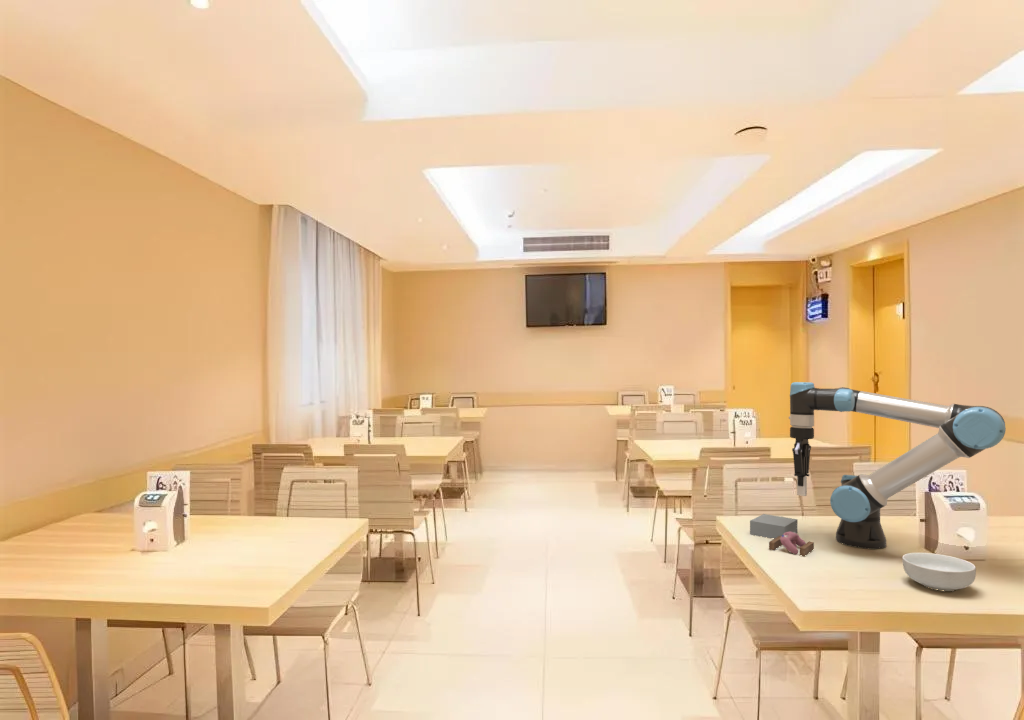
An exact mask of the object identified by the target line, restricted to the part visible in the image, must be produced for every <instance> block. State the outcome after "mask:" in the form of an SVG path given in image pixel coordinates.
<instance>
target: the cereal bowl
mask: <svg viewBox="0 0 1024 720" xmlns="http://www.w3.org/2000/svg"><path fill="white" fill-rule="evenodd" d="M901 560H902V561H901V562H902V567H903V571H904V572H905V574H906V575H907V576H908V577H909V578H910V579H911V580H912V581H915V582H917V583H919V584H920V585H922V586H923V585H924V586H923V587H925V586H926V587H925V588H927V587H929V588H932V589H931V590H933V589H938V590H944V591H943V592H945V591H952V592H955V591H954V590H956V591H957V590H961V589H966V588H968V587H970V586H971V585H972V584H973V583H974V582H975V580H976V576H977V569H976V566H975V564H974V563H972V562H970V561H967V560H965V559H962V558H960V557H955V556H950V555H945V554H939V553H931V552H910V553H909V552H908V553H906V554H903V555H902V558H901ZM929 588H928V589H929Z"/></svg>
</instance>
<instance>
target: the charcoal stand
mask: <svg viewBox="0 0 1024 720" xmlns="http://www.w3.org/2000/svg"><path fill="white" fill-rule="evenodd" d="M798 520H799V519H797V518H790V517H784V516H779V515H773V514H767V513H763V514H761V515H759V516H757V517H755V518H753V519H750V521H749V535H750V536H755V535H756V537H760V536H762V538H766V537H767V539H771V538H774V539H775V538H777V537H778V536H782V535H783V534H784V533H785V532H789V531H791V532H795V533H797V534H798Z"/></svg>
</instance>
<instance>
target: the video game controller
mask: <svg viewBox="0 0 1024 720" xmlns="http://www.w3.org/2000/svg"><path fill="white" fill-rule="evenodd" d="M780 540H781V543H782V546H783V547H784V548H785V549H787V551H788V552H789V553H792V554H793V553H794V554H793V555H798V554H799V550H798V548H800V547H801V546H803V545H804V544H806V543H807V542H806V541H805V540H803V538H801V536H800V535H799V534H798V532H797V533H795V532H791V531H789V532H785V533H784V534H783V535H782V537H781V538H780Z"/></svg>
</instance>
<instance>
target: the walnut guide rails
mask: <svg viewBox="0 0 1024 720" xmlns="http://www.w3.org/2000/svg"><path fill="white" fill-rule="evenodd" d="M781 537H782V536H778V537H777V538H775V539H772V540H770V541H769V542H768V550H769V549H770V551H775V550H777V549H778V548H780V547H782V546H783V545H782V543H781V540H780V538H781ZM781 545H782V546H781ZM779 546H780V547H779ZM814 546H815V542H814V541H809V540H808V541H807V542H806V544H804V545H803V546H801V547H799V556H800V555H802V556H801V557H804V556H805V555H806V556H808V555H809V554H810V553H811V552H813V551H814V550H815V547H814ZM776 548H777V549H776ZM813 549H814V550H813ZM812 550H813V551H812ZM809 552H810V553H809ZM808 553H809V554H808ZM806 556H805V557H806Z"/></svg>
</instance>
